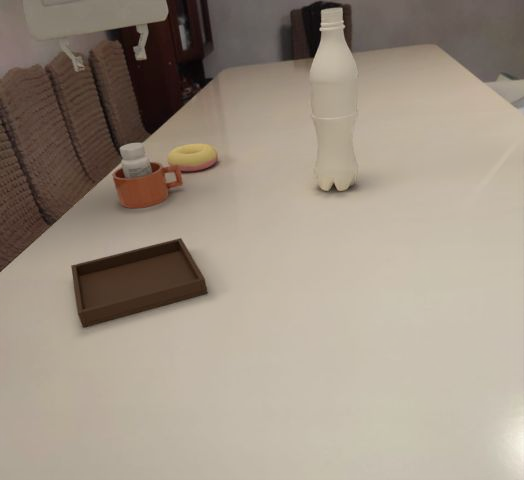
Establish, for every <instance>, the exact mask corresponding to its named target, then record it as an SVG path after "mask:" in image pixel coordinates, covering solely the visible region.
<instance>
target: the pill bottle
mask: <svg viewBox="0 0 524 480" xmlns="http://www.w3.org/2000/svg"><path fill="white" fill-rule="evenodd" d="M119 152H120V156H121V158H122V159H121V161H120V164H121V167H122V168H123V172H124V176H125V179H129V178H138V177H142V176H146V175H149V174H152V169H151V165H150V162H151V161H150V158H149V156H148V155H147V154H146V149H145V146H144V144H143V143H142V142H131V143H126V144H124V145H121V146H120V147H119Z"/></svg>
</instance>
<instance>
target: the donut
mask: <svg viewBox="0 0 524 480" xmlns="http://www.w3.org/2000/svg"><path fill="white" fill-rule="evenodd" d="M217 160H218V152H217V150H216V148H215V147H214V146H212V145H210V144H208V143H189V144H184V145H180V146H177V147H174V148H172V149H171V150H170V152H169V153H168V155H167V163H168V166H172V165H179V167H180V172H196V171H197V172H198V171H202V170H205V169H207V168H209V167H212V166H214V165H215V163H217Z"/></svg>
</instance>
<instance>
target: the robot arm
mask: <svg viewBox="0 0 524 480" xmlns="http://www.w3.org/2000/svg"><path fill="white" fill-rule="evenodd" d="M21 3H22V9H23V13H24V17H25V22H26V27H27V30H28V33H29V35H30V37H31V38H32V39H34V40H35V42H43V41H44V42H45V41H50V40H55V39H57V41H58V45H59V48H60V49H61V50H62V51H63V52H64V54H66V56H68V58H69V59H70V60H71V62H72V66H73V70H74V72H75V73H78V72H83V71H86V68H85V65H84V64H83V63H84V61H83V58H82V56H81V55H79V56H75V54H74V53H73V52H72V51H71V50H70V49H69V48H68V47H69V46H70V41H69V37H74V36H80V35H86V34H90V33H91V34H92V33H97V32H104V31H109V30H110V31H111V30H116V29H121V28H129V27H134V26H135V28H136V32H137V33H138V34H140V36H139V40H138V44H137V45H136V46H133V47H132V48H133V52H134V57H135V60H136V61H144V60H147V59H148V57H147V54H146V49H145V47H146V43H147V41H148V36H149V33H150V32H149V28H148V27H149V26H148V24H152V23H158V22H164V21H166V19H167V17H168V14H169V7H168V3H167V0H21Z"/></svg>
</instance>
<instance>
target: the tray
mask: <svg viewBox="0 0 524 480" xmlns="http://www.w3.org/2000/svg"><path fill="white" fill-rule="evenodd" d="M71 273H72V281H73V288H74V296H75V305H76V310H77V316H78V318H79V320H80V323H81V325H82V328H87V327H91V326H93V325H97V324H100V323H104V322H108V321H112V320H115V319H119V318H123V317H126V316H130V315H133V314H136V313H141V312H144V311H145V312H146V311H148V310H151V309H155V308H159V307H162V306H166V305H169V304H173V303H177V302H180V301H184V300H187V299H188V300H189V299H191V298H192V299H193V298H195V297H198V296H199V297H200V296H203V295H207V294H208V288H207V283H206V279H205V277H204V275H203V273H202V271H201V270H200V268H199V266H198V265H197V262H196V261H195V259H194V257H193V256H192V254H191V253H190V251H189V249H188V247H187V245H186V244H185V242H184V240H183V239H182V238H181V237H180V238H179V237H178V238H176V239H172V240H167V241H163V242H159V243H156V244H150V245H148V246H144V247H139V248H135V249H132V250H128V251H124V252H120V253H116V254H112V255H108V256H104V257H100V258H95V259H92V260H88V261H84V262H80V263H76V264H72V265H71Z"/></svg>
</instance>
